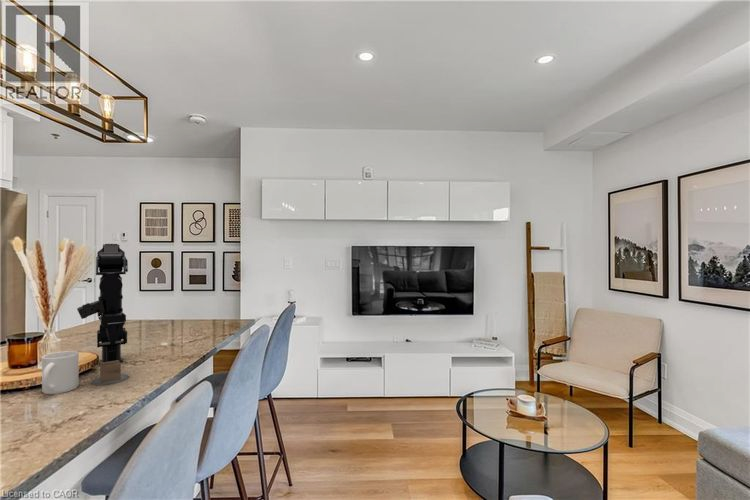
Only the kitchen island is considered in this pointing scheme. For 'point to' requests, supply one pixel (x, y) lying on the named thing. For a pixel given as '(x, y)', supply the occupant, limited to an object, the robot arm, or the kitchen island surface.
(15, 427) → the kitchen island surface
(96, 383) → the slate coaster
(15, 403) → the kitchen island surface
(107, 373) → the walnut block
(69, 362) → the mug
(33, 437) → the kitchen island surface
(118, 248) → the robot arm
